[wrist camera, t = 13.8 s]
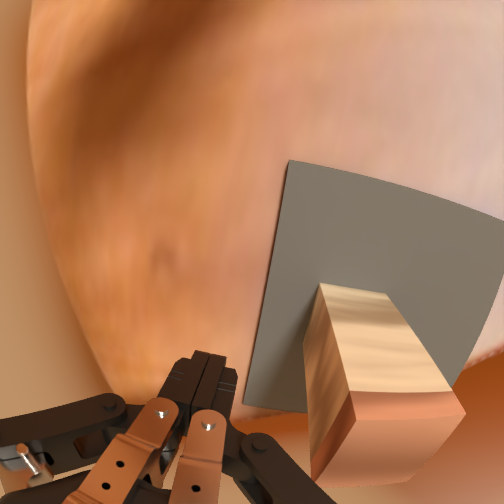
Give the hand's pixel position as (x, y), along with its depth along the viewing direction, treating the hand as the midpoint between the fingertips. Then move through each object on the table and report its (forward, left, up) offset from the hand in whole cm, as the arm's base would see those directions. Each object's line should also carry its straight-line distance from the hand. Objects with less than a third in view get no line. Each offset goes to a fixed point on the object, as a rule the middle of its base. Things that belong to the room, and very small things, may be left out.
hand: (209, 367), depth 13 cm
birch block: (0, +8, -7) cm, 11 cm away
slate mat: (0, +12, -8) cm, 15 cm away
